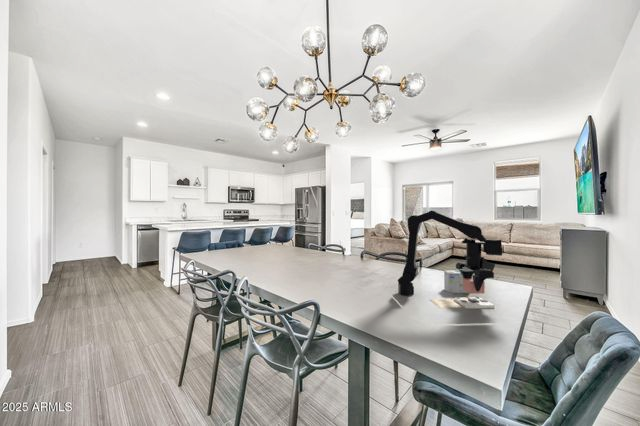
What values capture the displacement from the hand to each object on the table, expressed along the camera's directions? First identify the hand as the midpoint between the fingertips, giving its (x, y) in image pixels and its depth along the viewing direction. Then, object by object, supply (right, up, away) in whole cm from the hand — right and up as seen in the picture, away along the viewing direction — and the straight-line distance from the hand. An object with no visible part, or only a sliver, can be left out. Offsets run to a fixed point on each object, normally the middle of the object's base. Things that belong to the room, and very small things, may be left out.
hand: (473, 289), depth 118 cm
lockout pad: (-12, -7, +1) cm, 14 cm away
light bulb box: (+3, -7, +19) cm, 21 cm away
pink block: (0, -1, 0) cm, 1 cm away
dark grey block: (0, -7, 0) cm, 7 cm away
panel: (0, -7, 0) cm, 7 cm away
